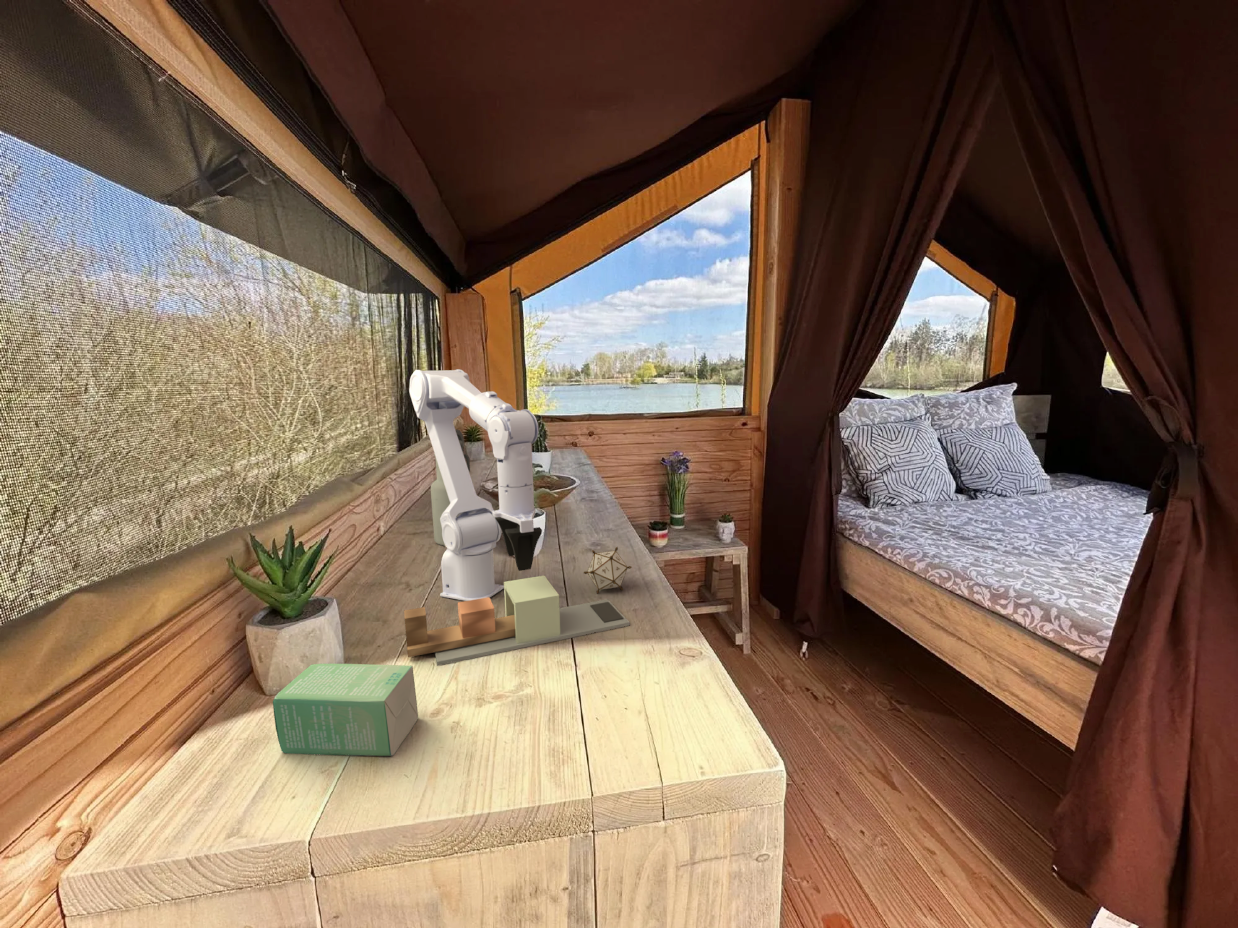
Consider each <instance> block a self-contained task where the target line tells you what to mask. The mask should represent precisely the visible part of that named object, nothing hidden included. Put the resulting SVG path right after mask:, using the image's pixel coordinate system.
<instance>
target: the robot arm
mask: <svg viewBox="0 0 1238 928" xmlns="http://www.w3.org/2000/svg"><path fill="white" fill-rule="evenodd" d="M408 392H409V396H410V398H411V402H412V405H413V408H414V411H415V414H416V417H417V418H418V419H420V420H422V421H423V422H424V424H425V427H426V430H427V434H428V438H429V439H430V443H431V447H432V450H433V454H435V456H436V459H437V463H438V466H439V469H440V472H441V475H442V478H443V482H444V485H445V488H446V491H447V494H448V497H449V501H450V505H449V506H448V507H447V508H446V510H445V511H444V512H443V514H442V516H441V518H440V521H441V526H442V537H443V541H444V544H445V546H444V547H446V550H445V551H444V553H443V555H442V557H441V562H440V568H441V581H442V582H441V583H442V592H440V594H439V596H440V597H443V598H448V599H449V598H450V599H454V600H459V601H463V602H464V601H469V600H475V599H481V598H487V597H489V598H490V599H491V598H492V597H493V596H494V595H496V594H497V593H499V592H501V591H502V590H504V584H497V583H495V581H496V580H495V566H494V548H497V542H498V541H500V539H501V536H503V537H502V538H503V540H504V543H505V544H504V545H505V548H506V552H507V555H508V556H509V557H512V556H513V557H514V560H515V564H516V568H517V570H518V571H519V572H521V571H522V572H523V571H527V570H532V565H533V561H534V557H535V551H536V548H537V544H538V542H539V539H540V537H541V536H542V534H543V529H542V528H541V527H537V526H536V527H534V518H535V515H536V507H535V500H534V498H535V497H534V475H533V474H534V473H533V472H534V470H533V447H532V446H533V445H532V444H534V443H535V442H536V441H537V439H538V437H539V423H538V421H537V418H536V416H535V415H534V413H533V412H531V410H530V409H527V408H525V409H520V410H518V409H515V408H514V407H513V406H512V405H511V404H510V403H507V402H505V401H504V400H503V399H501V398H500V397H499V396H498V393H497V392H495V391H492V390H491V391H484V392H481V391H480V390H479V388H477V387H476V386H475V385H474V384H473V383H471V381H470V377H469V374H468V373H467V372H465V371H464V370H462V369H460V368H459V369H454V370H453V369H451V370H449V369H448V370H445V369H444V370H421V369H415V370H414V371H413V373H412V374H411V376H410V379H409V390H408ZM464 408H467V409H468V414H469V416H470V419H471V420H473V421H474V422H475V423H476V424H478V425H479V426H480V427H481V428H483V429H484V430H485V431H486V432H487V434H488V439H489V441H490V443H491V447H492V454H493V456H494V458H496V467H497V484H498V485H497V488H498V490H497V491H498V506H499V509H497V510H494V507H493V505H492V503H491V502H490V501H488V500H486V499H484V498H483V497H480V496H479V495H477V492H476V489H475V486H474V483H473V481H472V476H471V474H470V472H469V470H468V467H467V461H466V459H465V458H464V455H463V452H464V451H463V452H462V449H461V446H460V443H459V440H458V437H457V433H456V430H457V429H456V428H455V424H454V420H455V419H457V418H458V417H459V416H461V415H462V412H463V410H464ZM435 456H434V457H435ZM436 459H435V460H436Z"/></svg>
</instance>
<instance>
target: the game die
mask: <svg viewBox="0 0 1238 928" xmlns="http://www.w3.org/2000/svg"><path fill="white" fill-rule="evenodd" d="M618 549H619V548H618V546H617V547H615V549H614V550H610V551H600V552H596V551H595V550H594V549H591V552H592V554H593V555H592V559H591V561H590V564H589V566H588V569H587V570H585V571H583V574H585V575H587V574H588V576H589V577H590V579H591V580H592V582H593V584H594V585H595V587H596V589H597V590H596V592H595V593H596V594H600V591H602V590H609V589H617V588H619V590H621V591H623V590H624V589H623V586H622V583H623V581H624V579H625V576H626V573H627V570H629V569H632V568H633V567H632V566H631V565H628V566H627V564H626V562H625V561H624V560H623V559H622V557H621V556H620V554H619V552H618Z"/></svg>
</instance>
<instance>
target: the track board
mask: <svg viewBox="0 0 1238 928" xmlns="http://www.w3.org/2000/svg"><path fill="white" fill-rule="evenodd" d="M605 602H609V603H610V604H611V605H612V606H613V607H614V608H615V609H616V611H617V612H618V613H619V614H620V615H621V616H622V617H623V619H621V620H616V621H611V622H606V623H604V622H603V621H602V620H601V618H600V617H599V616H598V615H597V614H596V612H595V611H594V610H593V609H592V608H591V607H590V605H594V604H599V603H605ZM559 608H560V635H558V636H553V637H548V638H543V639H538V640H533V641H528V642H523V643H518V644H517V642H516V636H513V637H508V638H503V639H498V640H493V641H488V642H483V643H478V644H473V645H468V646H463V647H458V648H453V649H448V650H442V651H437V652H434V655H435V663H436V666H441V665H447V664H451V663H452V664H453V663H456V662H460V661H465V660H470V659H471V660H472V659H475V658H481V657H486V656H490V655H495V654H500V653H504V652H509V651H515V650H517V649H518V650H519V649H520V650H521V649H523V648H529V647H534V646H538V645H543V644H548V643H553V642H556V641H562V640H566V639H567V640H569V639H571V638H577V637H582V636H586V634H587V635H591V633H592V634H595V633H594V632H596V633H600V632H605V631H610V629H611V630H615V628H616V629H620V628H624V626H625V627H630V626H629V625H630V624H631V623H630V621H629V620H628V619H627V618H626V617H625V615H624V614H622V612H621V611H620V610H619V609H618V608H617V607H616V606H615V605H614V604H613V603H612V602H611V601H610V600H609V599H601V600H596V601H591V602H587V603H586V602H585V603H579V604H575V605H569V606H564V607H559Z"/></svg>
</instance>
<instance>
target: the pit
mask: <svg viewBox="0 0 1238 928" xmlns="http://www.w3.org/2000/svg"><path fill="white" fill-rule="evenodd" d="M590 607H591V608H592V609H593V610H594V611H595V612H596V614H597V615H598V616H599V617H600V618H601V620H602V621H603V622H604V623H606V622H611V621H616V620H621V619H623V617H622V616H621V615H620V614H619V613H618V612H617V611H616V609H615V608H614V607H613V606H612V605H611V604H610V603H609V602H605V603H599V604H594V605H590Z"/></svg>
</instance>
